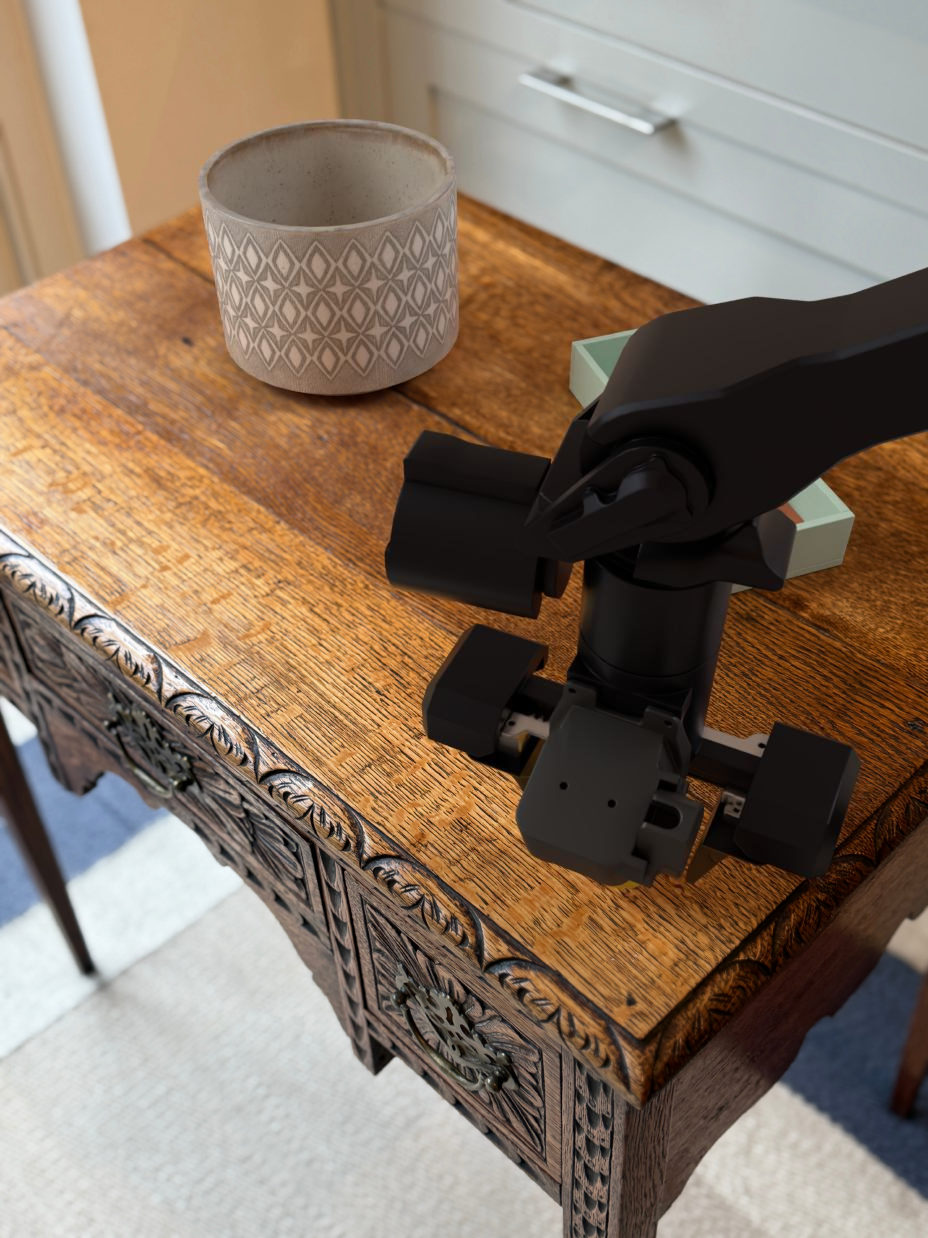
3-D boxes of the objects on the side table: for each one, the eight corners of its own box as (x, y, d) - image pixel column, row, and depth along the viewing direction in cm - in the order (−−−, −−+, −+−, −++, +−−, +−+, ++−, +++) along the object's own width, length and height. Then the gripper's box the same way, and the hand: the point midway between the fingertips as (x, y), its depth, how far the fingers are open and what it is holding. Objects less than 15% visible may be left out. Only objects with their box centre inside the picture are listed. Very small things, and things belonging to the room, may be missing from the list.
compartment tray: (841, 564, 76) (855, 515, 73) (722, 596, 74) (731, 547, 71) (670, 366, 92) (676, 320, 90) (568, 388, 90) (571, 341, 88)
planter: (446, 278, 103) (442, 111, 92) (472, 400, 89) (471, 220, 79) (230, 294, 101) (202, 125, 91) (225, 420, 88) (191, 239, 78)
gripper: (348, 687, 45) (375, 907, 56) (836, 865, 39) (759, 1071, 50) (473, 517, 52) (475, 742, 63) (902, 646, 46) (822, 869, 57)
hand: (619, 848), depth 58 cm, fingers open, 7 cm apart
